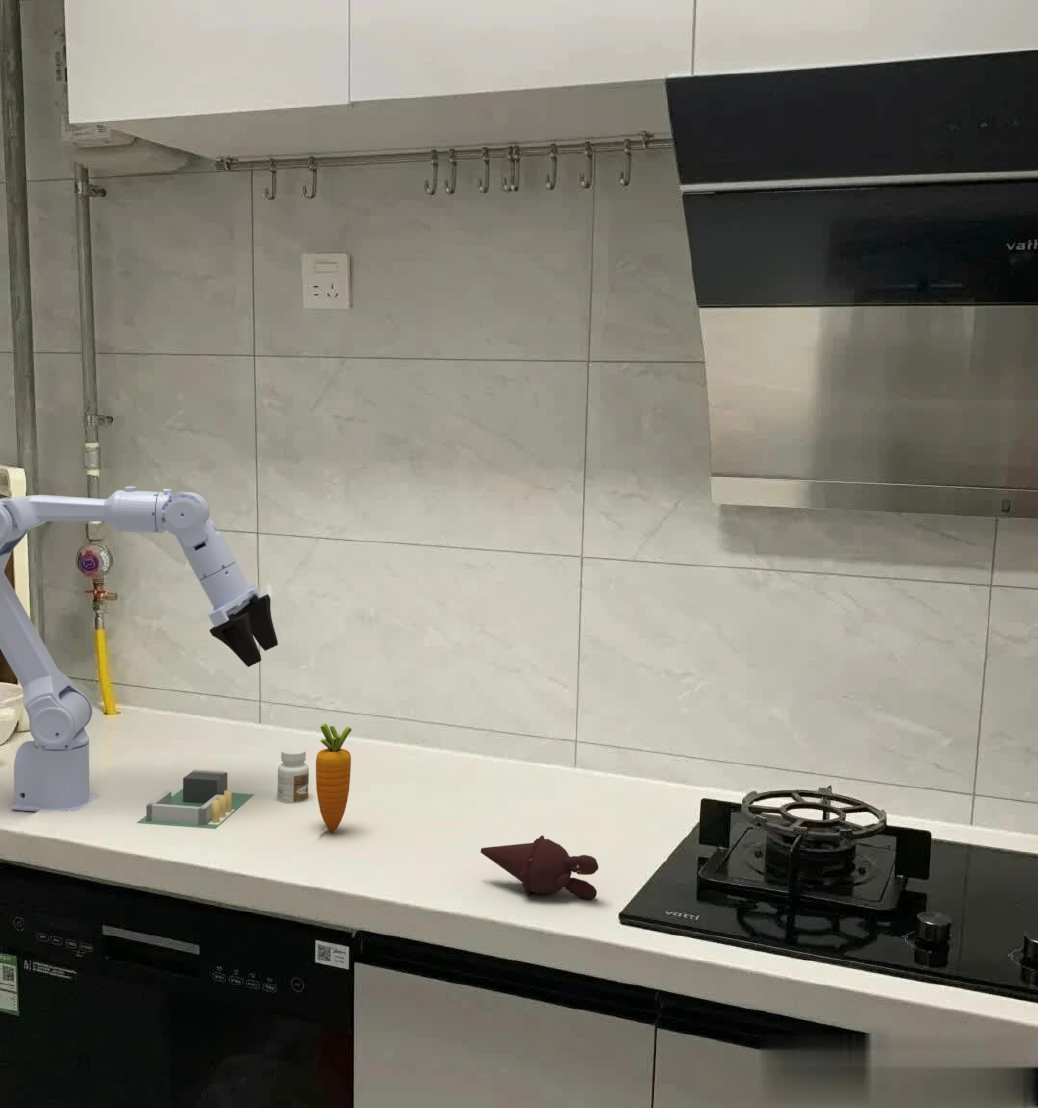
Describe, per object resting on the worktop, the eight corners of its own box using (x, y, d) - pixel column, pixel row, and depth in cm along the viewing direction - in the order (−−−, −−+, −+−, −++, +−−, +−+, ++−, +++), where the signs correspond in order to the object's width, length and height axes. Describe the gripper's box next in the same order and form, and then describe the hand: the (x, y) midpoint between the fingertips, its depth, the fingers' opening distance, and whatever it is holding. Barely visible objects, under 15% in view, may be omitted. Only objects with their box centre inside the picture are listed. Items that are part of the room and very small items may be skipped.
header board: (136, 826, 156) (136, 800, 156) (181, 793, 171) (181, 769, 171) (215, 832, 155) (215, 806, 155) (254, 798, 170) (254, 774, 169)
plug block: (183, 802, 165) (183, 775, 165) (194, 793, 169) (194, 768, 169) (216, 804, 165) (217, 778, 164) (227, 795, 169) (227, 770, 168)
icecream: (467, 842, 137) (588, 874, 131) (493, 809, 143) (609, 839, 138) (467, 890, 139) (585, 924, 134) (493, 856, 146) (606, 887, 140)
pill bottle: (301, 808, 166) (302, 755, 165) (272, 805, 167) (273, 753, 166) (312, 799, 170) (313, 747, 170) (284, 796, 171) (285, 745, 170)
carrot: (356, 828, 158) (358, 720, 157) (341, 840, 154) (343, 729, 152) (323, 824, 160) (325, 717, 158) (307, 836, 155) (308, 725, 153)
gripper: (223, 571, 156) (271, 659, 158) (258, 548, 170) (302, 630, 172) (179, 592, 157) (227, 680, 159) (217, 568, 171) (261, 649, 173)
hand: (263, 655), depth 165 cm, fingers open, 7 cm apart
